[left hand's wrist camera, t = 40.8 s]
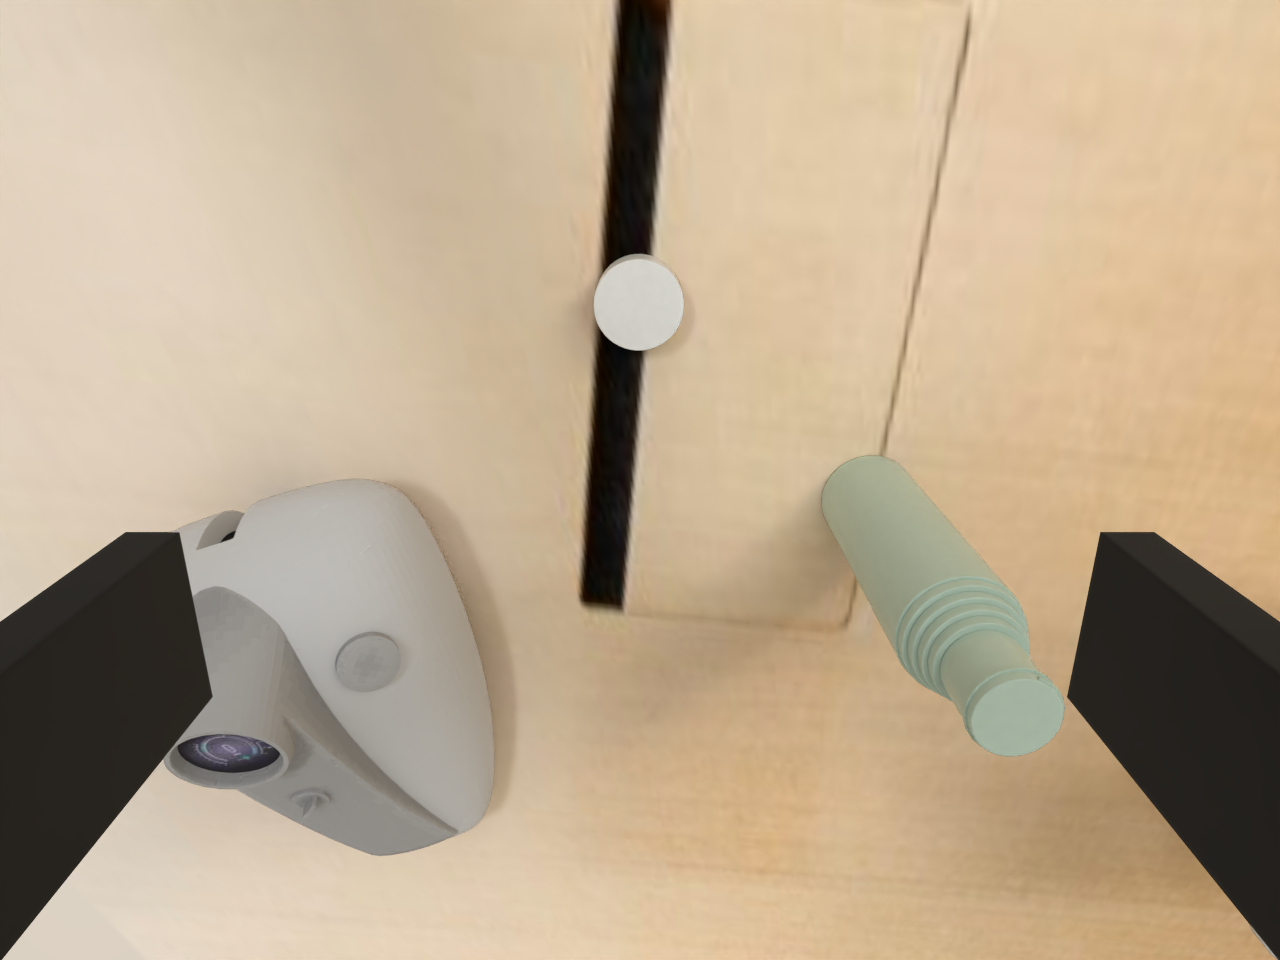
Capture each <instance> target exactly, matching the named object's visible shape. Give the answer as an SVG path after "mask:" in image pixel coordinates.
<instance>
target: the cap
mask: <svg viewBox="0 0 1280 960" xmlns="http://www.w3.org/2000/svg"><path fill="white" fill-rule="evenodd" d="M683 312H684V298H683V293H682V290H681V287H680V284H679V281H678V279H677V277H676V275H675V273H674V272H673V271H672V269H671V268H670V267H669V266H668V265H667V264H666V263H664V262H663V261H661V260H660V259H658V258H656V257H653V256H650V255H645V254H632V255H628V256H624V257H622V258H620V259H618V260H616V261H615V262H613V263H612V264H611V265H610V266H609V267H608V268H607V269H606V270H605V272H604V273H603V274H602V276H601V278H600V280H599V283H598V286H597V289H596V291H595V296H594V314H595V318H596V321H597V323H598V326H599V327H600V329H601V331H602V332H603V333H604V335H605V336H606V337H607V338H608V339H609V340H611V341H612V342H613V343H615V344H617V345H618V346H620V347H623V348H626V349H629V350H648V349H652V348H655V347H657V346H659V345H661V344H663V343H664V342H666V341H667V340H668V339H669V338H670V337H671V336H672V335H673V334H674V333H675V332H676V330H677V328H678V327H679V325H680V322H681V320H682V317H683Z"/></svg>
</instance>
